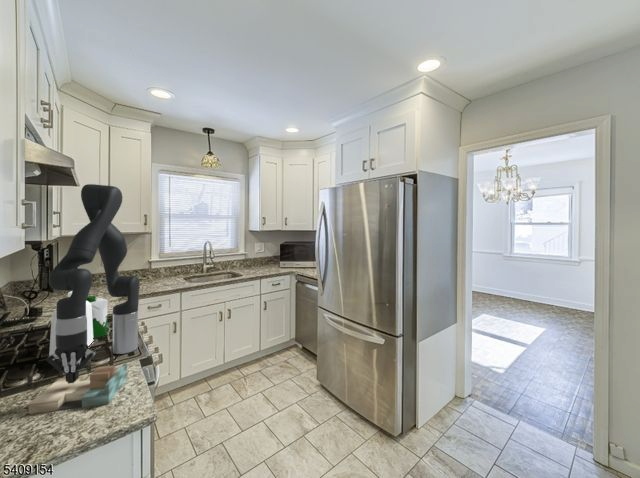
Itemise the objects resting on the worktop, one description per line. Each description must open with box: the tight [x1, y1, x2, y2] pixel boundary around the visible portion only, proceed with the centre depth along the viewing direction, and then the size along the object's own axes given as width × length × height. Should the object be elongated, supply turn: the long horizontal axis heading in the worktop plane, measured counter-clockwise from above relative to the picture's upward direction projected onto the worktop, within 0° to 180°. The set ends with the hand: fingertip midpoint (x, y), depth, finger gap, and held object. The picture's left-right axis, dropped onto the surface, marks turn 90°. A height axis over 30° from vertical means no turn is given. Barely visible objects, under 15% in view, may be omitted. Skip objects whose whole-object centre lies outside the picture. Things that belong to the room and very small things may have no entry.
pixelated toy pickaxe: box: [28, 363, 128, 415], centre depth 89 cm, size 14×20×6 cm
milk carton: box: [87, 295, 109, 339], centre depth 135 cm, size 9×9×20 cm
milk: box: [48, 290, 94, 357], centre depth 120 cm, size 12×12×26 cm
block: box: [89, 365, 116, 390], centre depth 90 cm, size 5×5×5 cm
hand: (72, 381), depth 89 cm, fingers closed
